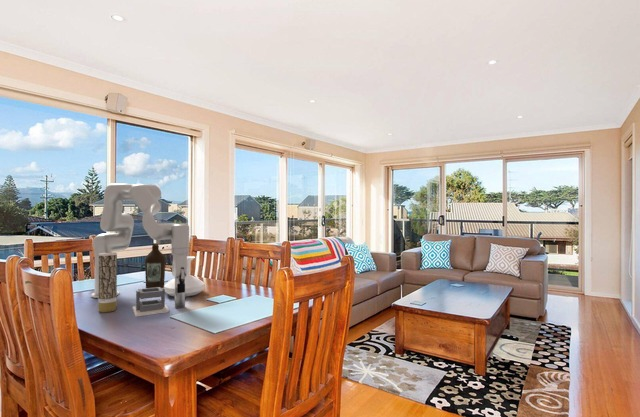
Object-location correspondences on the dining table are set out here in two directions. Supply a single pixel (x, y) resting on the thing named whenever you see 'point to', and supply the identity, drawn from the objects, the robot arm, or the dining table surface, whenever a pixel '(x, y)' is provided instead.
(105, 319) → the dining table surface
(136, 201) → the robot arm
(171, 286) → the white vase
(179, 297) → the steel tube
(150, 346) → the dining table surface
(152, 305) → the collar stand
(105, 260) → the bark-patterned cylinder
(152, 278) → the olive oil
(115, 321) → the dining table surface
